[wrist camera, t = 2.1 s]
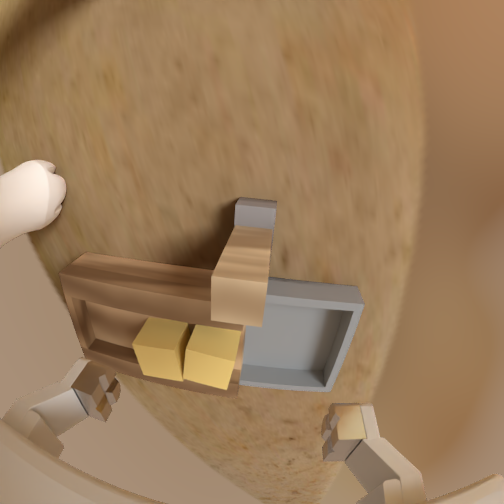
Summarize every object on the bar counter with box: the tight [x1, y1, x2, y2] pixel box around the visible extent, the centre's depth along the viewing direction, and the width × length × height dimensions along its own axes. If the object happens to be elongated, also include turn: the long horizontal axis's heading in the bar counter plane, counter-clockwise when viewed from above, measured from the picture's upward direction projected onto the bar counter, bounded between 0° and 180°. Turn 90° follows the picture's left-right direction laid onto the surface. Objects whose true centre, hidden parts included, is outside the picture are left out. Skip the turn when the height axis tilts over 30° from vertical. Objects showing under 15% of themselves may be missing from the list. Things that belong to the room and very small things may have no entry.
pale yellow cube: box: [183, 324, 241, 390], centre depth 24 cm, size 4×4×4 cm
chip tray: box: [239, 277, 365, 392], centre depth 26 cm, size 12×10×3 cm
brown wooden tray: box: [59, 252, 246, 399], centre depth 26 cm, size 12×18×5 cm, turn 85°
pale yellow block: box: [132, 317, 191, 381], centre depth 24 cm, size 4×4×4 cm
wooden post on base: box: [211, 197, 277, 327], centre depth 19 cm, size 6×3×10 cm, turn 175°
